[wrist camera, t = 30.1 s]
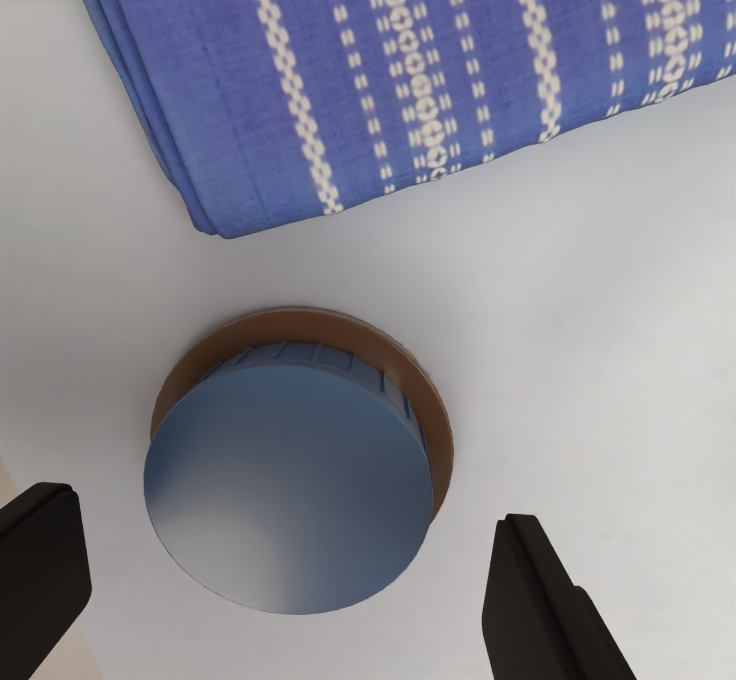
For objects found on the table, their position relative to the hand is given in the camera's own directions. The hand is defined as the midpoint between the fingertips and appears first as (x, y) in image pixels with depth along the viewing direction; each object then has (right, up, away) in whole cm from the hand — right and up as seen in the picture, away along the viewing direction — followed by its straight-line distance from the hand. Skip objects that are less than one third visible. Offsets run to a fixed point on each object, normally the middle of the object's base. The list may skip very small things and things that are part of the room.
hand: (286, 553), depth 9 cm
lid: (0, +1, +2) cm, 2 cm away
